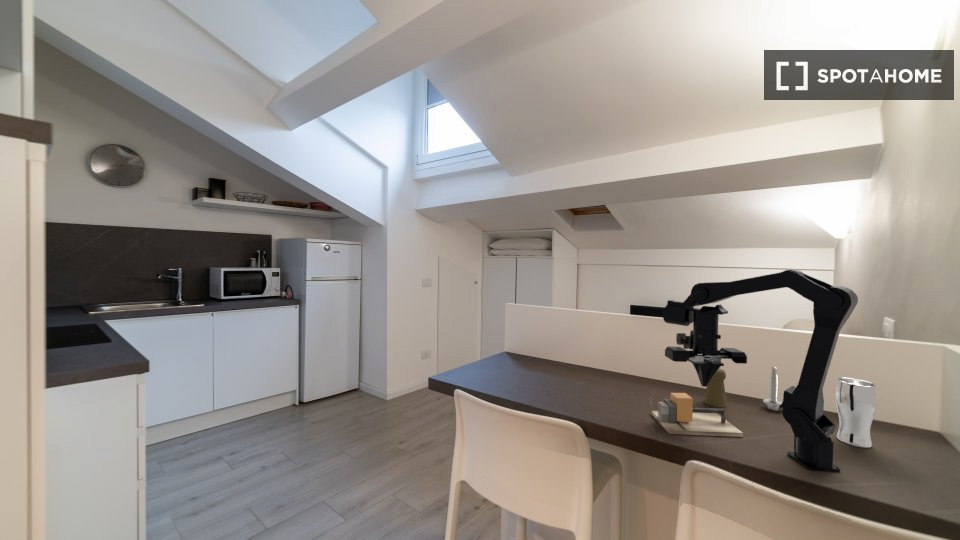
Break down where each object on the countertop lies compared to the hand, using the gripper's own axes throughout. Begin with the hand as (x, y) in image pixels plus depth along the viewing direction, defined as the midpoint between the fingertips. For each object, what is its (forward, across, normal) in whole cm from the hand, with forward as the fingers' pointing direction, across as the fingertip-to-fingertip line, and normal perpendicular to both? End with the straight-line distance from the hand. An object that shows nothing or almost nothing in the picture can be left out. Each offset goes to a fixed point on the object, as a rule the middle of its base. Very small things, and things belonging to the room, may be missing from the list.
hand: (703, 386), depth 99 cm
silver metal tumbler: (+11, -33, +6) cm, 35 cm away
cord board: (+11, +2, 0) cm, 11 cm away
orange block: (+9, +6, 0) cm, 11 cm away
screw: (+11, -27, -13) cm, 32 cm away
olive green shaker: (+11, -12, -16) cm, 22 cm away
